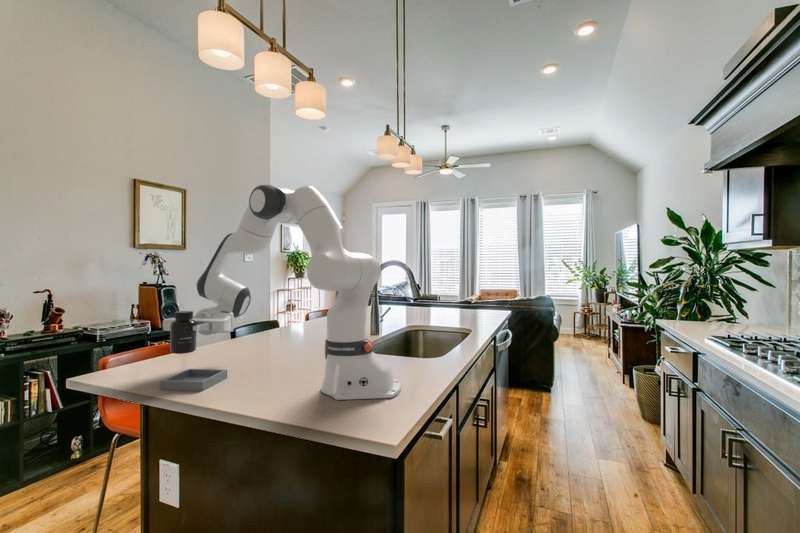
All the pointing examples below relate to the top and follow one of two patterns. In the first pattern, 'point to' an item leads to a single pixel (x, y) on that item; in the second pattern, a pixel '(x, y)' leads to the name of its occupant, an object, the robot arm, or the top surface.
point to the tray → (194, 379)
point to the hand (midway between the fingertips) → (181, 328)
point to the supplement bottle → (182, 333)
